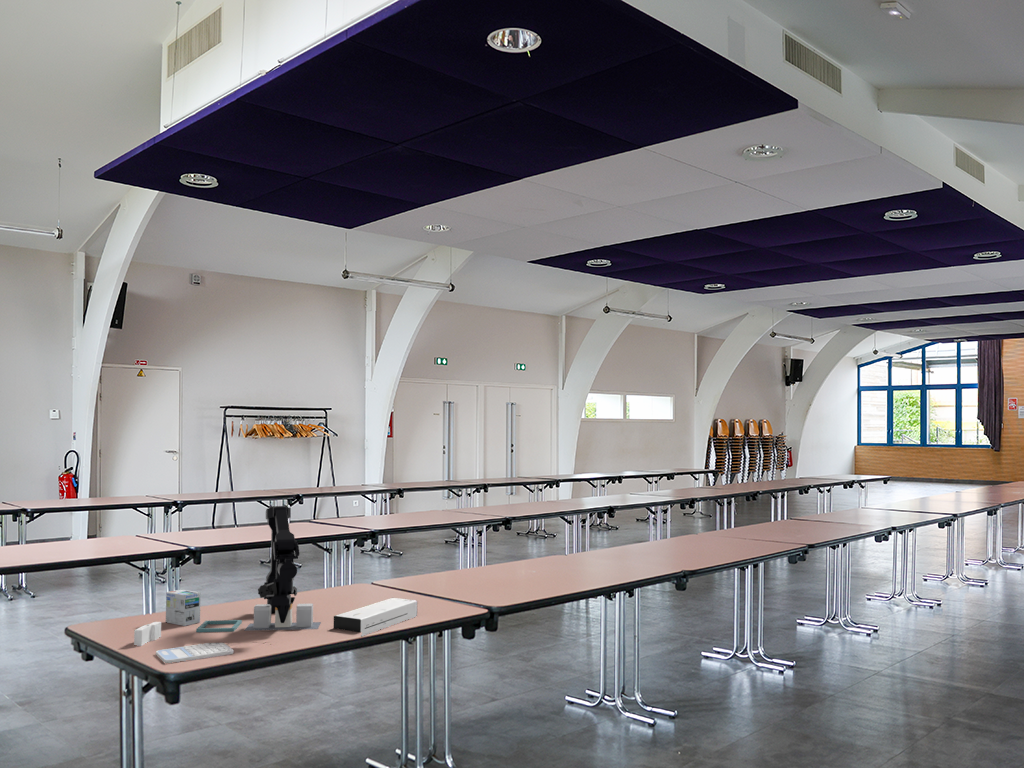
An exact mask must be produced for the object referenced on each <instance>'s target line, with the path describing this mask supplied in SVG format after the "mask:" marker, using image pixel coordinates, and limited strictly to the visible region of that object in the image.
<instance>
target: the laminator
mask: <svg viewBox="0 0 1024 768" xmlns="http://www.w3.org/2000/svg"><path fill="white" fill-rule="evenodd" d="M416 616H417V617H418V600H417V599H416V600H415V599H407V598H399V597H391V598H387V599H384V600H381V601H377V602H375V603H371V604H369V605H366V606H362V607H359V608H356V609H352V610H348V611H346V612H342V613H339V614H337V615H333V629H334V630H341V631H348V632H355V633H361V634H360V637H365V636H368V635H370V634H373V633H376V632H378V630H379V631H381V630H384V629H387V628H389V626H390V627H392V626H391V625H393V626H395V625H397V623H398V624H401V623H403V622H402V621H404V622H406V621H409V620H411V618H412V619H414V617H415V618H416ZM408 619H409V620H408ZM405 620H406V621H405ZM400 622H401V623H400ZM394 624H395V625H394ZM386 627H387V628H386ZM383 628H384V629H383ZM380 629H381V630H380ZM375 631H376V632H375ZM372 632H373V633H372ZM369 633H370V634H369ZM367 634H368V635H367ZM364 635H365V636H364Z"/></svg>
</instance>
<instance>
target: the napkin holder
mask: <svg viewBox="0 0 1024 768" xmlns="http://www.w3.org/2000/svg"><path fill="white" fill-rule="evenodd" d="M133 633H134V634H133V637H134V639H133V646H134V645H137V646H136V647H142V646H144V645H146V644H147V642H148V643H150V642H153V641H156V640H159V639H160V638H162V621H153V622H151V623H147V624H145V625H142V626H140V627H138V628H136V629H135V630H134V632H133ZM159 637H160V638H159ZM145 643H146V644H145Z"/></svg>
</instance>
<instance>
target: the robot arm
mask: <svg viewBox="0 0 1024 768" xmlns="http://www.w3.org/2000/svg"><path fill="white" fill-rule="evenodd" d="M291 510H292V509H291V507H289V506H286V505H277V506H274V505H273V506H269V507H268V508H266V509H265V520H267V524H268V527H269V528H270V531H271V538H270V539H271V540H270V544H271V545H270V570H269V571H268V574H267V575H266V576H265V582H264V583H263V584H262V585H260V586H259V587H258V588H257V594H258V595H259V597H260V599H262V598H263V599H264V600H266V601H267V602H266V604H270V605H271V615H272V614H274V615H275V607H276V608H277V609H278V613H279V617H280V622H281V623H284V622H285V619H286V617H287V614H288V611H289V609H290V606H291V604H292V605H294V602H295V600H296V596H297V595H298V588H297V587H296V586H294V580H295V577H296V576H297V574H298V568H297V565H296V564H295V563H294V560H298V559H299V556H300V549H299V546H300V545H299V543H298V540H296V538H295V534H294V533H293V532H291V530H290V523H289V519H291V514H292V513H291ZM291 595H293V596H294V597H293V596H291Z"/></svg>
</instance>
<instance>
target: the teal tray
mask: <svg viewBox="0 0 1024 768" xmlns="http://www.w3.org/2000/svg"><path fill="white" fill-rule="evenodd" d="M208 625H233V626H232V627H207V626H208ZM241 625H242V619H231V620H229V619H227V620H226V619H225V620H224V619H223V620H221V619H220V620H219V619H217V620H215V619H214V620H204V622H203V623H202V624H200V625H199V626H198V627H197V628H196V629H195V631H196V633H227V632H228V633H231V632H232V633H233V632H235V631H236V630H237V629H238V628H239V626H241Z"/></svg>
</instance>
